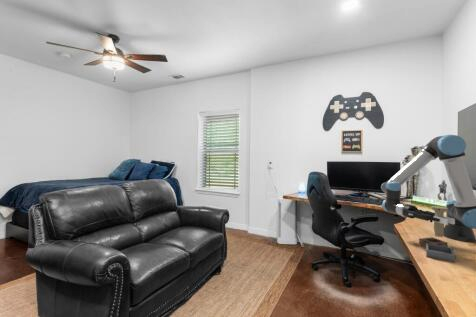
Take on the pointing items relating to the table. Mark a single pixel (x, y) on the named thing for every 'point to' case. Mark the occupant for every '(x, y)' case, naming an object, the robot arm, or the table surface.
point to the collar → (432, 241)
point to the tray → (440, 252)
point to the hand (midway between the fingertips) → (450, 221)
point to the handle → (437, 226)
